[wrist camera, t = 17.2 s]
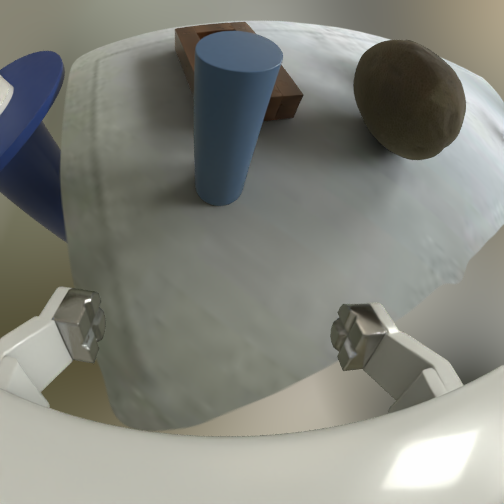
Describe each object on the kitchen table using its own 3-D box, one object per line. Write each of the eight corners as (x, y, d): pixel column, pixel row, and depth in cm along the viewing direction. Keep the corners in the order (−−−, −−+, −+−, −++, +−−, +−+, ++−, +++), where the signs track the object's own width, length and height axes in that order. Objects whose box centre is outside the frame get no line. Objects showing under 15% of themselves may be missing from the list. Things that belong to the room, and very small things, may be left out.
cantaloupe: (406, 116, 34) (458, 57, 20) (427, 191, 30) (504, 134, 16) (328, 86, 32) (370, 6, 18) (337, 162, 28) (412, 67, 14)
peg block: (206, 132, 26) (208, 106, 23) (175, 49, 30) (174, 28, 26) (293, 117, 29) (303, 94, 25) (241, 41, 32) (245, 21, 29)
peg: (203, 211, 24) (208, 77, 10) (189, 171, 25) (187, 34, 11) (249, 198, 25) (298, 70, 11) (233, 160, 26) (263, 29, 12)
